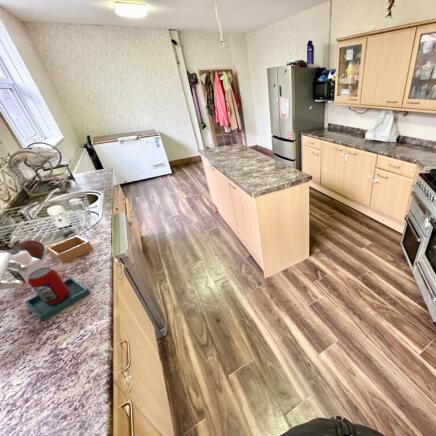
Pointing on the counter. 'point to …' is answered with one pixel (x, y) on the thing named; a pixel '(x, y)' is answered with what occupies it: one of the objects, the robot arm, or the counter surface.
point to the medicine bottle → (25, 259)
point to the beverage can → (48, 285)
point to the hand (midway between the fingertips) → (25, 276)
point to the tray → (48, 311)
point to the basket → (70, 249)
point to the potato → (33, 248)
